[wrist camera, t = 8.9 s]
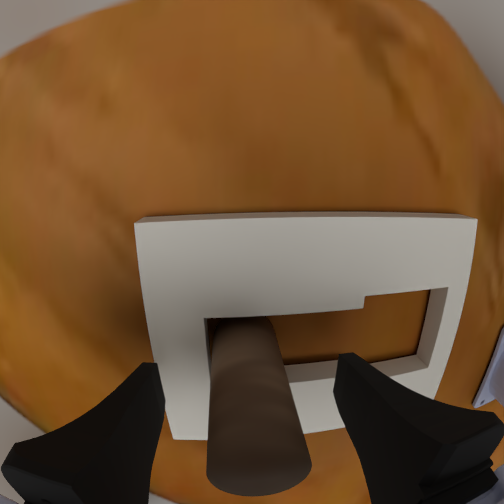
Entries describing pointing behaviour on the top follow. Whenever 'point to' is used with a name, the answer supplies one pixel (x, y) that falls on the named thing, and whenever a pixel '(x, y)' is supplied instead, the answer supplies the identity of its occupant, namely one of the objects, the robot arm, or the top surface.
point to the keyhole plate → (294, 293)
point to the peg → (252, 413)
